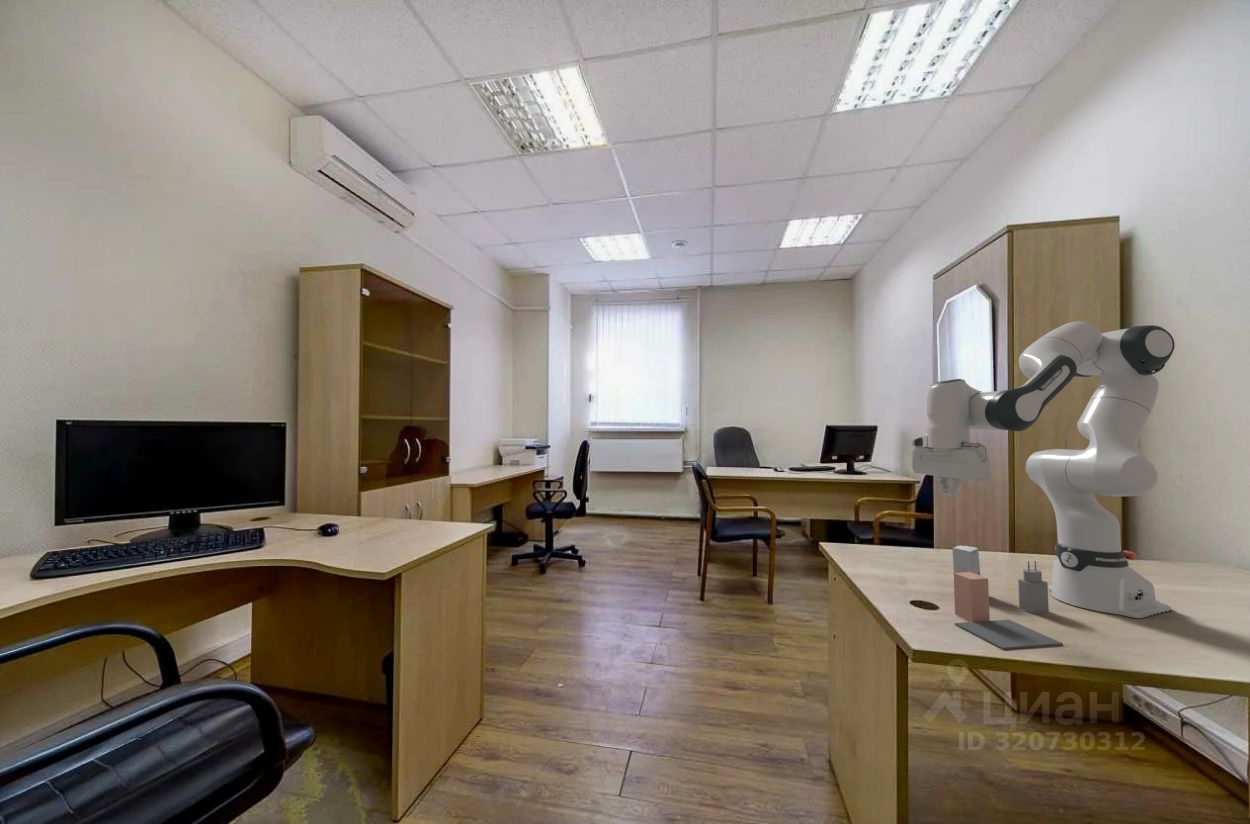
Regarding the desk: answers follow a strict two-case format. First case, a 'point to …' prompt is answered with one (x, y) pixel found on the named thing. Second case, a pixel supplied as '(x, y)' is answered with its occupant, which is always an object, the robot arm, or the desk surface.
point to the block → (971, 596)
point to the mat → (1007, 634)
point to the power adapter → (1033, 591)
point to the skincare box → (966, 559)
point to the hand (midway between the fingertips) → (948, 495)
